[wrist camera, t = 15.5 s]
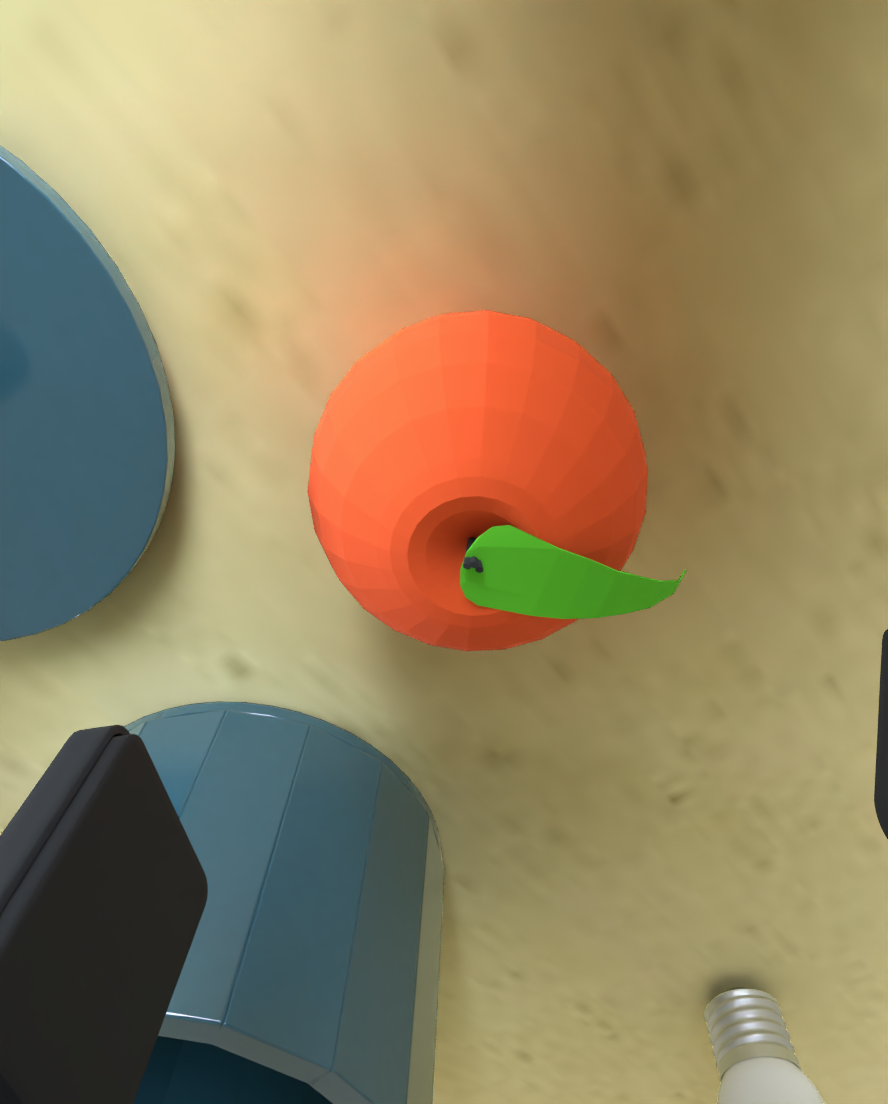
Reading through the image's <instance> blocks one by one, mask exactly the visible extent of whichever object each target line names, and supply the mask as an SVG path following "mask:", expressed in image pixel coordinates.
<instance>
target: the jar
mask: <svg viewBox="0 0 888 1104" xmlns="http://www.w3.org/2000/svg"><path fill="white" fill-rule="evenodd" d="M124 727H125V728H126V729H127V730H128V731H129V733H130V734H136V735H138V736H139V737H140V738H141V739H142V741H143V742H144V744H145V747H146V749H147V751H148V753H149V755H150V757H151V759H152V761H153V764H154V766H155V768H156V770H157V772H158V774H159V776H160V779H161V781H162V783H163V785H164V787H165V789H166V791H167V793H168V796H169V798H170V800H171V802H172V804H173V806H174V808H175V810H176V813H177V815H178V817H179V819H180V821H181V823H182V825H183V828H184V830H185V832H186V834H187V836H188V838H189V840H190V842H191V845H192V847H193V849H194V851H195V853H196V855H197V857H198V860H199V862H200V864H201V866H202V868H203V870H204V872H205V875H206V878H207V884H208V895H207V902H206V905H205V908H204V911H203V914H202V916H201V919H200V922H199V925H198V927H197V930H196V933H195V936H194V938H193V941H192V944H191V947H190V949H189V952H188V955H187V957H186V960H185V963H184V966H183V968H182V971H181V974H180V977H179V979H178V982H177V985H176V988H175V990H174V993H173V996H172V999H171V1001H170V1004H169V1007H168V1010H167V1012H166V1015H165V1018H164V1020H163V1023H162V1026H161V1029H160V1031H159V1034H158V1037H157V1040H156V1042H155V1045H154V1048H153V1051H152V1053H151V1056H150V1059H149V1062H148V1064H147V1067H146V1070H145V1072H144V1075H143V1078H142V1081H141V1083H140V1086H139V1089H138V1092H137V1094H136V1097H135V1100H134V1103H133V1104H432V1101H433V1083H434V1064H435V1045H436V1026H437V1007H438V989H439V970H440V951H441V932H442V913H443V895H444V876H445V869H444V865H443V861H442V847H441V842H440V837H439V832H438V828H437V826H436V823H435V820H434V818H433V815H432V813H431V811H430V809H429V807H428V805H427V804H426V802H425V800H424V798H423V797H422V795H421V793H420V792H419V791H418V789H417V788H416V787H415V786H414V784H413V783H412V782H411V780H410V779H409V778H408V777H407V776H406V775H405V774H404V773H403V772H402V771H401V770H400V769H399V768H398V767H397V766H396V765H395V764H394V763H393V762H392V761H391V760H390V759H389V758H387V757H386V756H385V755H383V754H382V753H381V752H379V751H378V750H377V749H375V748H374V747H373V746H372V745H370V744H368V743H367V742H365V741H363V740H362V739H360V738H358V737H357V736H355V735H353V734H352V733H350V732H348V731H346V730H344V729H341V728H339V727H337V726H335V725H333V724H331V723H328V722H326V721H324V720H321V719H318V718H315V717H312V716H309V715H306V714H303V713H300V712H296V711H292V710H288V709H283V708H279V707H275V706H269V705H261V704H253V703H246V702H210V703H198V704H190V705H185V706H180V707H175V708H170V709H166V710H163V711H160V712H157V713H154V714H151V715H148V716H145V717H143V718H141V719H139V720H137V721H135V722H132V723H130V724H128V725H126V726H124Z"/></svg>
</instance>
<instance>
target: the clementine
mask: <svg viewBox="0 0 888 1104" xmlns="http://www.w3.org/2000/svg"><path fill="white" fill-rule="evenodd" d="M646 494H647V464H646V456H645V450H644V446H643V442H642V439H641V435H640V431H639V427H638V423H637V420H636V416H635V412H634V410H633V409H632V407H631V405H630V404H629V402H628V400H627V399H626V397H625V395H624V394H623V392H622V390H621V389H620V387H619V385H618V384H617V382H616V381H615V379H614V377H613V376H612V374H611V373H610V372H609V371H608V370H607V369H605V368H604V367H603V366H602V365H601V364H600V363H599V362H598V361H597V360H596V359H594V358H593V357H592V356H591V355H590V354H589V353H588V352H587V351H586V350H585V349H583V348H582V347H581V346H580V345H579V344H578V343H577V342H575V341H574V340H572V339H571V338H569V337H567V336H565V335H563V334H561V333H559V332H557V331H555V330H553V329H551V328H549V327H547V326H545V325H543V324H541V323H539V322H537V321H535V320H533V319H531V318H526V317H520V316H515V315H510V314H504V313H499V312H494V311H489V310H485V311H472V312H460V313H447V314H442V315H439V316H436V317H433V318H431V319H428V320H425V321H422V322H420V323H417V324H414V325H411V326H409V327H406V328H403V329H402V330H400V331H399V332H397V333H396V334H394V335H393V336H391V337H390V338H389V339H387V340H386V341H384V342H383V343H382V344H380V345H379V346H377V347H376V348H375V349H373V350H372V351H370V352H369V353H368V354H366V355H365V356H363V357H362V358H361V359H359V360H358V361H357V362H356V364H355V365H354V366H353V367H352V369H351V370H350V371H349V372H348V374H347V375H346V376H345V377H344V379H343V380H342V381H341V382H340V384H339V385H338V386H337V387H336V389H335V390H334V391H333V393H332V394H331V395H330V398H329V400H328V403H327V405H326V408H325V410H324V412H323V415H322V417H321V420H320V422H319V425H318V427H317V430H316V432H315V435H314V442H313V448H312V456H311V466H310V475H309V485H308V496H309V502H310V507H311V513H312V518H313V524H314V529H315V533H316V535H317V537H318V539H319V541H320V543H321V545H322V547H323V549H324V551H325V553H326V555H327V557H328V559H329V561H330V564H331V566H332V568H333V569H334V571H335V573H336V575H337V576H338V578H339V580H340V581H341V583H342V584H343V585H344V586H345V587H346V588H347V589H348V591H349V592H350V593H351V594H352V595H353V596H354V598H355V599H356V600H357V601H358V602H359V603H360V605H361V606H362V607H363V608H364V609H365V610H366V611H368V612H369V613H371V614H372V615H373V616H375V617H376V618H378V619H379V620H381V621H382V622H383V623H385V624H386V625H388V626H389V627H390V628H392V629H393V630H395V631H397V632H400V633H402V634H404V635H407V636H409V637H412V638H414V639H417V640H419V641H421V642H424V643H426V644H429V645H434V646H440V647H445V648H451V649H457V650H463V651H481V650H502V649H508V648H512V647H515V646H519V645H523V644H526V643H530V642H534V641H538V640H541V639H543V638H545V637H547V636H549V635H551V634H553V633H554V632H556V631H558V630H560V629H562V628H564V627H566V626H568V625H569V624H571V623H573V622H575V621H576V620H577V619H580V618H599V617H606V616H613V615H620V614H626V613H630V612H634V611H639V610H643V609H647V608H650V607H652V606H654V605H655V604H657V603H659V602H660V601H662V600H664V599H665V598H667V597H669V596H670V595H672V594H674V592H675V590H676V588H677V587H678V585H679V583H680V581H681V579H682V578H683V576H684V574H685V572H686V571H687V570H686V569H685V570H684V571H683V573H682V575H681V576H680V578H679V579H678V580H666V581H660V580H655V579H651V578H646V577H641V576H637V575H633V574H629V573H626V572H622V571H620V570H621V569H622V567H623V566H624V564H625V563H626V561H627V559H628V558H629V556H630V555H631V553H632V551H633V549H634V546H635V543H636V540H637V537H638V534H639V531H640V528H641V525H642V522H643V519H644V516H645V513H646Z"/></svg>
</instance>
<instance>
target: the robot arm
mask: <svg viewBox="0 0 888 1104" xmlns="http://www.w3.org/2000/svg"><path fill="white" fill-rule="evenodd" d="M874 802H875V809H876V814H877V817H878V820H879V823H880V826H881V828H882V830H883V832H884V834H885V835H886V837H887V839H888V630H886V631H885V632H884V634H883V639H882V655H881V675H880V694H879V714H878V734H877V754H876V774H875V794H874ZM207 895H208V884H207V878H206V875H205V872H204V870H203V868H202V866H201V864H200V862H199V860H198V857H197V855H196V853H195V851H194V849H193V847H192V845H191V842H190V840H189V838H188V836H187V834H186V832H185V830H184V828H183V825H182V823H181V821H180V819H179V817H178V815H177V813H176V810H175V808H174V806H173V804H172V802H171V800H170V798H169V796H168V793H167V791H166V789H165V787H164V785H163V783H162V781H161V779H160V776H159V774H158V772H157V770H156V768H155V766H154V764H153V761H152V759H151V757H150V755H149V753H148V751H147V749H146V747H145V744H144V742H143V741H142V739H141V738H140V737H139V736H138V735H136V734H130V733H129V731H128V730H127V729H126V728H125V727H123V726H120V725H114V726H107V727H99V728H92V729H85V730H79V731H77V732H74V733H73V734H72V735H71V736H70V737H69V739H68V740H67V741H66V743H65V744H64V746H63V747H62V749H61V750H60V751H59V753H58V754H57V756H56V757H55V759H54V760H53V761H52V763H51V764H50V766H49V767H48V769H47V770H46V771H45V773H44V774H43V776H42V777H41V779H40V780H39V781H38V783H37V784H36V786H35V787H34V789H33V790H32V791H31V793H30V794H29V796H28V797H27V799H26V800H25V801H24V803H23V804H22V806H21V807H20V809H19V810H18V811H17V813H16V814H15V816H14V817H13V819H12V820H11V821H10V823H9V824H8V826H7V827H6V829H5V830H4V831H3V833H2V834H1V836H0V1104H133V1103H134V1100H135V1097H136V1094H137V1092H138V1089H139V1086H140V1083H141V1081H142V1078H143V1075H144V1072H145V1070H146V1067H147V1064H148V1062H149V1059H150V1056H151V1053H152V1051H153V1048H154V1045H155V1042H156V1040H157V1037H158V1034H159V1031H160V1029H161V1026H162V1023H163V1020H164V1018H165V1015H166V1012H167V1010H168V1007H169V1004H170V1001H171V999H172V996H173V993H174V990H175V988H176V985H177V982H178V979H179V977H180V974H181V971H182V968H183V966H184V963H185V960H186V957H187V955H188V952H189V949H190V947H191V944H192V941H193V938H194V936H195V933H196V930H197V927H198V925H199V922H200V919H201V916H202V914H203V911H204V908H205V905H206V902H207Z"/></svg>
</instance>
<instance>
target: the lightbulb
mask: <svg viewBox="0 0 888 1104" xmlns="http://www.w3.org/2000/svg"><path fill="white" fill-rule="evenodd" d="M704 1017H705V1021H706V1022H707V1029H708V1032H709V1034H710V1042H711V1044H712V1046H713V1054H714V1056H715V1058H716V1066H717V1069H718V1074H719V1078H720V1082H721V1083H720V1087H719V1091H718V1099H717V1104H825V1103H824V1101H823V1099H822V1097H821V1095H820V1093H819V1092H818V1090H817V1088H816V1087H815V1085H814V1084H813V1083H812V1081H811V1080H810V1079H809V1078H808V1077H807V1076H806V1074H805V1073H804V1072H803V1071H802V1070H801V1067H800V1064H799V1061H798V1058H797V1056H796V1055H795V1054H794V1047H793V1045H792V1043H791V1042H790V1035H789V1033H788V1031H787V1030H786V1023H785V1021H784V1019H783V1018H782V1011H781V1009H780V1005H779V1003H778V1001H777V1000H776V999H775V998H774V997H773V996H771V995H769V994H768V993H766V992H763V991H760V990H756V989H750V988H739V987H738V988H732V989H729V990H727V991H725V992H723V993H721V994H719V995H718V996H716V997H715V998H713V999H712V1000H711V1001H710V1002H709V1003H708V1005H707V1007H706V1008H705V1011H704Z"/></svg>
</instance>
